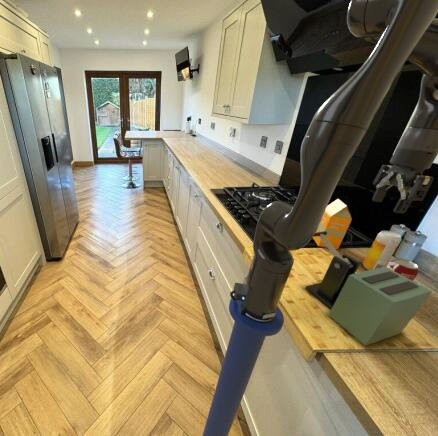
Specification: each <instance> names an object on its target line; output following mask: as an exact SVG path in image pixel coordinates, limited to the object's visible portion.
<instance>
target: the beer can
mask: <svg viewBox="0 0 438 436" xmlns="http://www.w3.org/2000/svg"><path fill="white" fill-rule="evenodd" d="M401 242H402V235H400V234H398V233H396V232H394V231H389V230H381V231H380V232H379V233H377V235H376V237H375V239H374V241H373V242H372V245H371V246H370V248H369V250H368V252H367V253H366V255H365V257H364V258H363V261H362V265H363V267H364V268H365V269H366V270H367V271H369V270H373V269H377V268H381V267H386V266H387V264H388V263H389V262H390V261H391V258H392V257H393V255H394V253H395V252H396V250H397V249H398V247H399V245H400V243H401Z"/></svg>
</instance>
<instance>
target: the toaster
mask: <svg viewBox="0 0 438 436" xmlns="http://www.w3.org/2000/svg"><path fill="white" fill-rule="evenodd" d="M432 292H433V291H432V290H431V289H429V288H427V287H425V286H423V285H421V284H419V283H418V282H415V281H414V280H413V281H412V280H410V279H408V278H406V277H404V276H402V275H400V274H398V273H396V272H394V271H393V270H391V269H389V268H387V267H381V268H377V269H373V270H365V271H360V272H355V274H351V275H349V277H348V279H347V281H346V283H345V285H344V287H343V288H342V290H341V292H340V294H339V296H338V298H337V300H336V302H335V304H334V306H333V308H332V309H330V312H329V314H328V317H329V318H331V319H332V320H333V321H335V322H336V323H337V324H338V325H340V326H341V327H342V328H343V329H344V330H346V331H347V332H348V333H349V334H350V335H352V336H353V337H354V338H355V339H356V340H358V341H359V342H360V343H361V344H363V345H364V346H365V347H366V346H369V345H371V344H375V343H377V342H380V341H383V340H385V339H389V338H390V337H393V336H396V335H399V334H402V332H403V331H404V330H405V328H406V327H407V326H408V325H409V323H410V322H411V320H412V319H413V318H414V317H415V315H416V314H417V313H418V311H419V310H420V308H421V307H422V306H423V304H424V303H425V302H426V301H427V299H428V298H429V297H430V295H431V293H432Z"/></svg>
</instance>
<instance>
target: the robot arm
mask: <svg viewBox="0 0 438 436" xmlns="http://www.w3.org/2000/svg"><path fill="white" fill-rule="evenodd" d="M437 14H438V0H350V3H349V5H348V9H347V14H346V24H347V28H348V30H349V32H350V33H351V34H352V35H353V36H354V37H356V38H357V39H360V40H362V41H365V42H369V43H372V44H374V45H375V46H374V49H373V50H372V52H371V53H370V55H368V58H367V59H366V60H365V62H364V63H363V64H362V65H361V67H360V68H358V69H357V71H356V72H355V73H354V74H353V75H352V76H351V77H350V78H349V79H348V80H347V81H345V82H344V83H343V84H342V85H341V86H340V87H338V89H337V90H336V91H335V92H333V93H332V94H331V95H330V96H329V97H328V98H327V99H326V100H325V101H324V103H323V104H321V106H320V107H319V108H318V109H317V111H316V112H315V114H314V116H313V117H312V120H311V122H310V124H309V126H308V129H307V130H306V133H305V135H304V138H303V140H302V142H301V146H300V173H301V179H300V180H301V182H300V188H299V192H298V195H297V198H296V200H295V202H294V204H291V203H289V202H286V201H285V200H276V201H273V202H271V203H269V204H267V205H266V206H265V207H264V209H262V211H261V213H260V214H259V216H258V217H259V218H258V220H257V224H256V227H255V232H254V237H253V243H252V250H253V254H252V258H251V262H250V266H249V269H248V272H247V275H245V276H244V279H243V282H242V283H239V282H234V285H233V290H231V291H230V292H229V296H230V299H231V298H232V299H233V300H234V301H236V300H239V307H240V312H241V315H244V316H246V317H248V318H249V319H251V320H253V321H255V322H259V323H268V322H270V321H272V319H273V317H274V316H275V314H276V313H275V311H276V308H277V306H278V305H279V303H280V300H281V298H282V295H283V292H284V289H285V288H286V285H287V282H288V280H289V277H290V275H291V274H290V273H291V272H292V269H293V266H294V263H295V258H294V256H293V254H292V253H291V252H294V251H295V252H296V251H298V250H300V249H302V248H304V247H305V246H307V244H309V242H310V241H311V240H313V236H314V234H315V232H316V231H317V228H318V226H319V224H320V222H321V219H322V217H323V215H324V212H325V210H326V207H327V206H328V205H329V203H330V200H331V198H332V196H333V193H334V191H335V189H336V187H337V185H338V183H339V181H340V179H341V178H342V175H343V174H344V172H345V170H346V168H347V166H348V165H349V162H350V161H351V159H352V157H353V156H354V154H355V152H356V151H357V149H358V147H359V145H360V144H361V142H362V141H363V138H364V136H365V135H366V133H367V131H368V129H369V128H370V125H371V123H372V121H373V119H374V117H375V115H376V113H377V112H378V109H379V108H380V106H381V104H382V102H383V100H384V99H385V97H386V95H387V94H388V92H389V90H390V88H391V87H392V85H393V83H394V81H395V79H396V78H397V77H398V75H399V73H400V71H401V70H402V69H403V67H404V65H405V64H406V62H407V61H408V62H409V63H410V64H411V65H412V66H413V67H414V68H416V69H417V70H418V71H419V72H420V73H422V77H421V82H420V90H419V97H418V102H417V105H416V110H415V112H414V115H413V117H412V119H411V120H410V122H409V124H408V127H406V130H405V131H404V133H403V135H402V136H401V138H400V140H399V142H398V144H397V146H396V148H395V150H394V152H393V154H392V156H391V157H390V160H389V164H390V165H389V164H382V166H381V167H380V168H379V171H378V173H377V175H376V176H375V178H374V180H373V181H372V185H374V186H375V188H376V190H375V192H374V194H373V196H372V199H371V200H372V202H375V203H381V202H383V201H384V198H385V196H386V194H387V193H388V190H389V189H390V188H392V187H393V186H395V187H396V188H397V189H398V192H399V193H400V198H399V199H398V201H397V202H396V204H395V206H394V208H393V210H392V211H393V213H395V214H404V213H406V212H407V211H408V209H409V207H410V206H411V204H412V202H413V201H414V202H415V201H421V202H422V201H423V200H424V198H425V197H426V195H427V193H428V191H429V189H430V187H431V185H432V183H433V182H434V177H433V176H429V175H423V172H424V171H425V170H429V169H430V168H431V166H432V165H433V163H434V161H435V160H436V158H437V156H438V18H436V16H437ZM381 178H382V179H381ZM233 295H235V297H234V296H233ZM278 307H279V306H278Z"/></svg>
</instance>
